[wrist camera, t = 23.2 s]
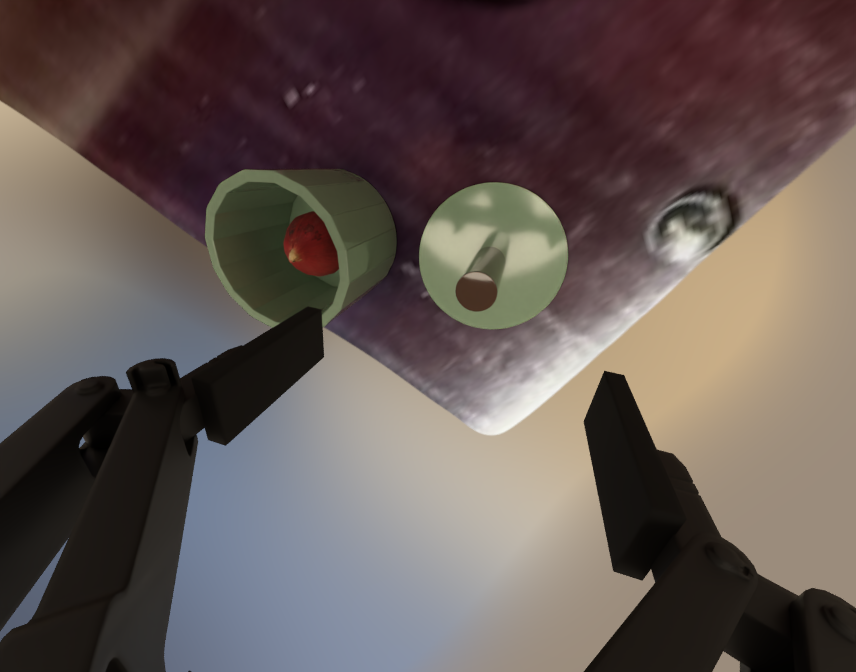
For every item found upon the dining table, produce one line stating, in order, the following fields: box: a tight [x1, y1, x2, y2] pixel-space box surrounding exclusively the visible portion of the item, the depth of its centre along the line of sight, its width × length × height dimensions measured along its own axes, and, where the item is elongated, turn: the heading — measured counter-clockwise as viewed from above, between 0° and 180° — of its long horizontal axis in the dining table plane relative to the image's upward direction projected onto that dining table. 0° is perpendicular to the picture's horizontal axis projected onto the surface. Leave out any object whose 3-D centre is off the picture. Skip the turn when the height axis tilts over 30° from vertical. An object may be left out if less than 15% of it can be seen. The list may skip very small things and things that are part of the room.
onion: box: [283, 211, 339, 277], centre depth 32 cm, size 6×6×8 cm
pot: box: [205, 168, 397, 328], centre depth 31 cm, size 13×13×10 cm
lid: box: [419, 182, 568, 329], centre depth 28 cm, size 14×14×10 cm
